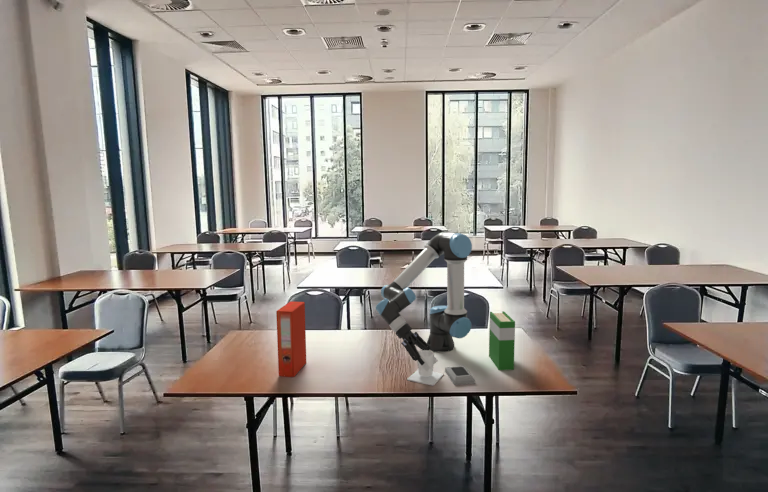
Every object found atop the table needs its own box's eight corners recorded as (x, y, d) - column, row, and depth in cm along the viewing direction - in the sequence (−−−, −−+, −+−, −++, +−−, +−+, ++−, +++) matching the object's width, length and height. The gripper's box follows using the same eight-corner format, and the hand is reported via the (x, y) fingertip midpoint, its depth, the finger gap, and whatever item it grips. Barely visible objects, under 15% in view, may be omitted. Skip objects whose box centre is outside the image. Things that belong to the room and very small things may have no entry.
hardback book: (488, 356, 238) (489, 311, 235) (502, 355, 239) (504, 311, 235) (498, 370, 221) (499, 322, 217) (513, 369, 221) (515, 321, 218)
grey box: (464, 363, 221) (474, 376, 206) (464, 371, 221) (474, 384, 207) (445, 365, 219) (454, 378, 205) (445, 372, 220) (454, 386, 205)
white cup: (435, 370, 216) (435, 350, 215) (432, 378, 209) (432, 357, 207) (418, 369, 218) (418, 349, 217) (415, 376, 211) (415, 355, 209)
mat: (418, 369, 222) (418, 368, 222) (443, 374, 216) (443, 373, 216) (407, 380, 211) (407, 379, 211) (433, 385, 205) (433, 384, 205)
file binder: (307, 362, 233) (304, 301, 228) (294, 377, 216) (292, 311, 211) (291, 362, 234) (289, 301, 230) (278, 376, 217) (275, 310, 213)
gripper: (405, 326, 227) (435, 362, 222) (385, 338, 209) (418, 379, 204) (414, 317, 224) (445, 353, 218) (396, 329, 206) (429, 369, 200)
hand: (432, 365), depth 211 cm, fingers open, 8 cm apart
